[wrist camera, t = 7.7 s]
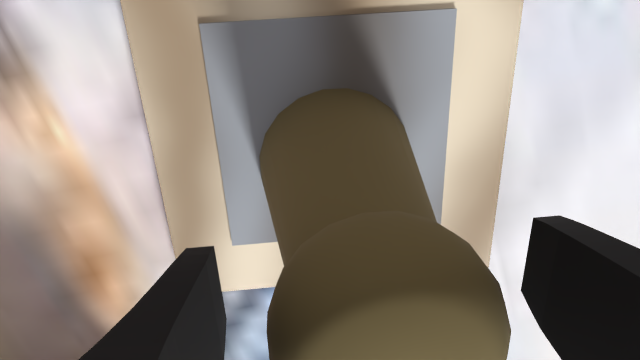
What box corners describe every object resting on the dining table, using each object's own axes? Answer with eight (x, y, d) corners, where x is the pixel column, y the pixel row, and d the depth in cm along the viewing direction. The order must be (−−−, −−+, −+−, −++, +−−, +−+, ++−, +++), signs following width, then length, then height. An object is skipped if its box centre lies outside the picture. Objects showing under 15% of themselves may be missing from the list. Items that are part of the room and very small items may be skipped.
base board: (189, 274, 22) (182, 298, 21) (122, -54, 16) (106, -55, 15) (476, 249, 23) (490, 269, 22) (513, -73, 17) (536, -76, 16)
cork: (241, 105, 17) (199, 302, 8) (402, 72, 17) (570, 225, 8) (278, 240, 20) (281, 518, 10) (417, 212, 20) (556, 461, 10)
